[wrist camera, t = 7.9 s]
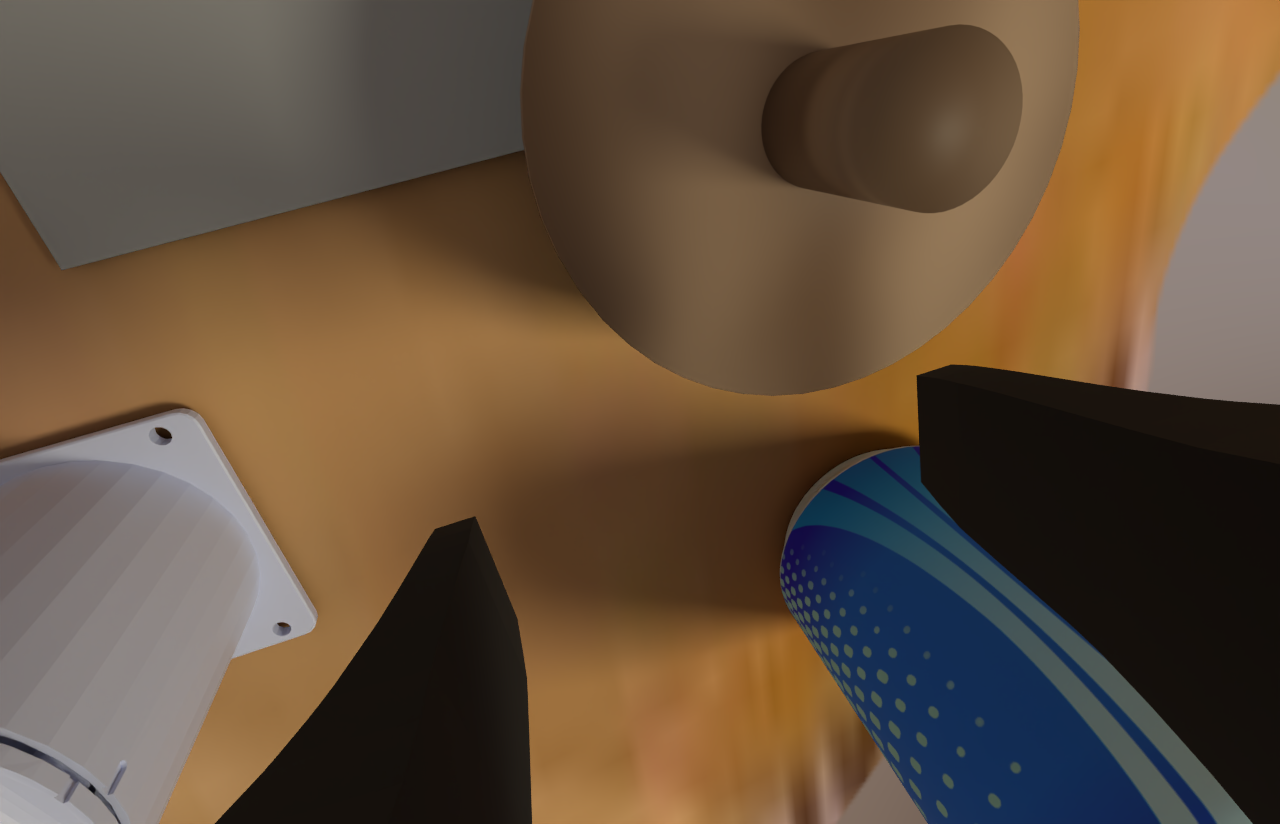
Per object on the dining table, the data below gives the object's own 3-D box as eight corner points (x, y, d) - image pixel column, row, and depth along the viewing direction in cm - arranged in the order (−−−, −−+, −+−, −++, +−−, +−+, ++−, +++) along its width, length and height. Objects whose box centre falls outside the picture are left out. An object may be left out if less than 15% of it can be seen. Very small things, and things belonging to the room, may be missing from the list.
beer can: (742, 481, 23) (1178, 1060, 9) (958, 395, 24) (1682, 808, 10) (788, 647, 27) (1145, 1241, 13) (973, 569, 28) (1508, 1049, 13)
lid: (627, 453, 16) (683, 570, 12) (411, -134, 11) (374, -292, 7) (1053, 285, 17) (1243, 339, 13) (1044, -332, 12) (1360, -579, 8)
